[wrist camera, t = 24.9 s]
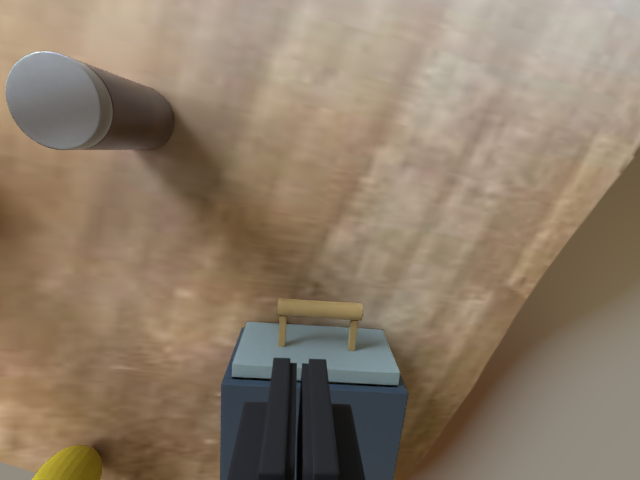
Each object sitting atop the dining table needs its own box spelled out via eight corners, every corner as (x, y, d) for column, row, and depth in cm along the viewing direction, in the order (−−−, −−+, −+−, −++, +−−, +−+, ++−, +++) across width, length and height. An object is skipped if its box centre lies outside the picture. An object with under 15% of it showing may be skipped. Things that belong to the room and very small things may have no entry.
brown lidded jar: (101, 99, 28) (-15, 71, 18) (157, 76, 28) (70, 35, 18) (131, 158, 29) (38, 163, 19) (184, 137, 29) (118, 131, 19)
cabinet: (242, 327, 34) (221, 384, 26) (385, 336, 35) (408, 393, 27) (238, 460, 38) (218, 544, 30) (366, 465, 39) (381, 548, 31)
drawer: (248, 279, 32) (232, 312, 25) (388, 288, 32) (408, 323, 26) (242, 450, 37) (228, 515, 30) (364, 455, 37) (376, 520, 31)
